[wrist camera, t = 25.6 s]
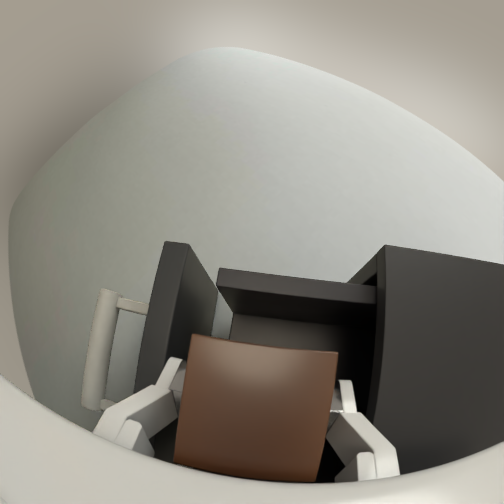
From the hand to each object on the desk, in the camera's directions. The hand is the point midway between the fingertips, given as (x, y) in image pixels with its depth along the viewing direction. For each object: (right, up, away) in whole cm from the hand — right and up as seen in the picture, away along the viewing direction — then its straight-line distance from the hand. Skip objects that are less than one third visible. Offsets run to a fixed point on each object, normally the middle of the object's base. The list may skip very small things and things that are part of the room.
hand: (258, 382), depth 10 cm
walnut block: (0, -2, +4) cm, 4 cm away
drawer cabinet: (+12, -5, +7) cm, 15 cm away
